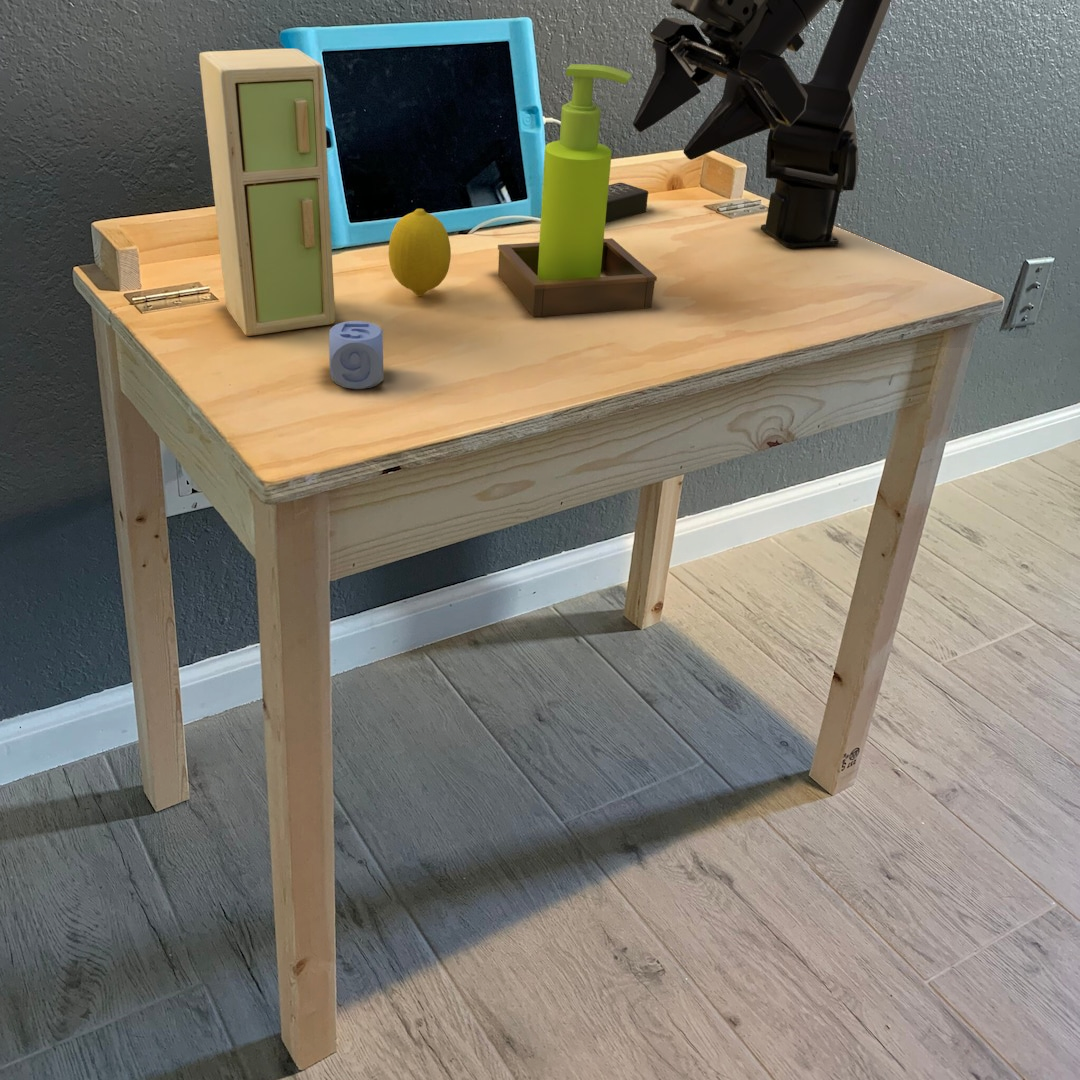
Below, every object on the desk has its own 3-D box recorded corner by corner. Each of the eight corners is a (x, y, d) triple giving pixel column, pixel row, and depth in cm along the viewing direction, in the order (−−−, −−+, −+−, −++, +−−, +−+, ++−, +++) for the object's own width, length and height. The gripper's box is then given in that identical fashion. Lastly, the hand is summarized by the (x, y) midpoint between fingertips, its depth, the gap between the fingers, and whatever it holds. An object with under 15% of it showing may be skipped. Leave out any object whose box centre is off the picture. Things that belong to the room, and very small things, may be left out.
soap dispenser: (604, 307, 104) (625, 79, 93) (530, 297, 105) (543, 69, 94) (614, 283, 109) (636, 63, 97) (544, 273, 110) (557, 54, 98)
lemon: (462, 297, 104) (464, 211, 100) (417, 312, 101) (417, 223, 96) (422, 280, 107) (422, 195, 103) (376, 293, 104) (374, 206, 99)
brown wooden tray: (609, 267, 113) (612, 238, 111) (653, 308, 105) (657, 276, 103) (496, 275, 110) (497, 244, 108) (532, 317, 101) (534, 285, 99)
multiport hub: (647, 211, 130) (650, 190, 128) (582, 229, 123) (584, 207, 121) (618, 201, 132) (620, 181, 131) (553, 218, 125) (554, 197, 124)
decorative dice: (383, 367, 91) (382, 320, 88) (383, 389, 87) (382, 341, 85) (332, 367, 90) (330, 320, 88) (330, 389, 87) (328, 341, 84)
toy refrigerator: (246, 341, 93) (222, 69, 82) (223, 309, 99) (197, 50, 87) (339, 328, 96) (328, 66, 85) (312, 298, 102) (298, 47, 90)
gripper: (680, -81, 102) (562, 55, 104) (802, -51, 88) (664, 105, 90) (741, 11, 109) (630, 137, 111) (862, 52, 95) (733, 195, 98)
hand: (660, 141), depth 102 cm, fingers open, 9 cm apart
